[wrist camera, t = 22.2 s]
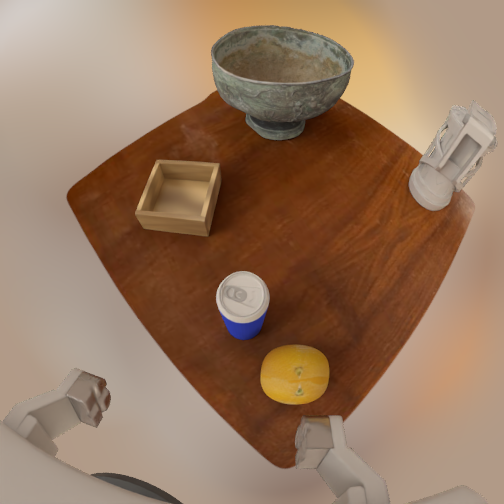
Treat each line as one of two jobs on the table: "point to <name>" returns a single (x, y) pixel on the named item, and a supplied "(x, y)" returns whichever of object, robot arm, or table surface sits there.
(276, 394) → the fruit
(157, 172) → the wooden tray
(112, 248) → the table surface
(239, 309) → the beverage can
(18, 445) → the robot arm
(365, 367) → the table surface
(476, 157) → the lantern
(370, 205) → the table surface
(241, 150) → the table surface
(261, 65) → the decorative bowl
